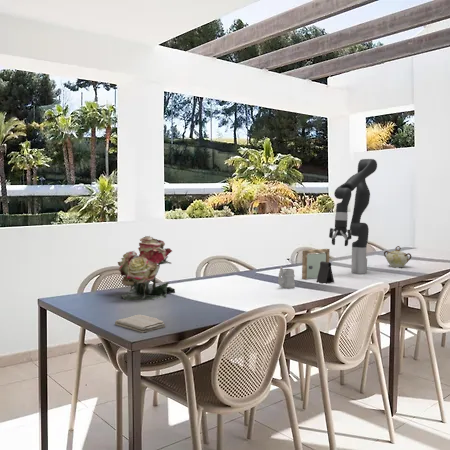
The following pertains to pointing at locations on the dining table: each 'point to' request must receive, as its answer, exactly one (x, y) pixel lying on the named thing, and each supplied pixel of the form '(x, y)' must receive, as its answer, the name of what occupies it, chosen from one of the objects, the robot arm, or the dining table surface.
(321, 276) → the phone stand
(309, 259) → the door
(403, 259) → the sugar bowl
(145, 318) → the washcloth
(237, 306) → the dining table surface
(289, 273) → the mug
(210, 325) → the dining table surface
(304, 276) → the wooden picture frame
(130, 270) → the rose bouquet
